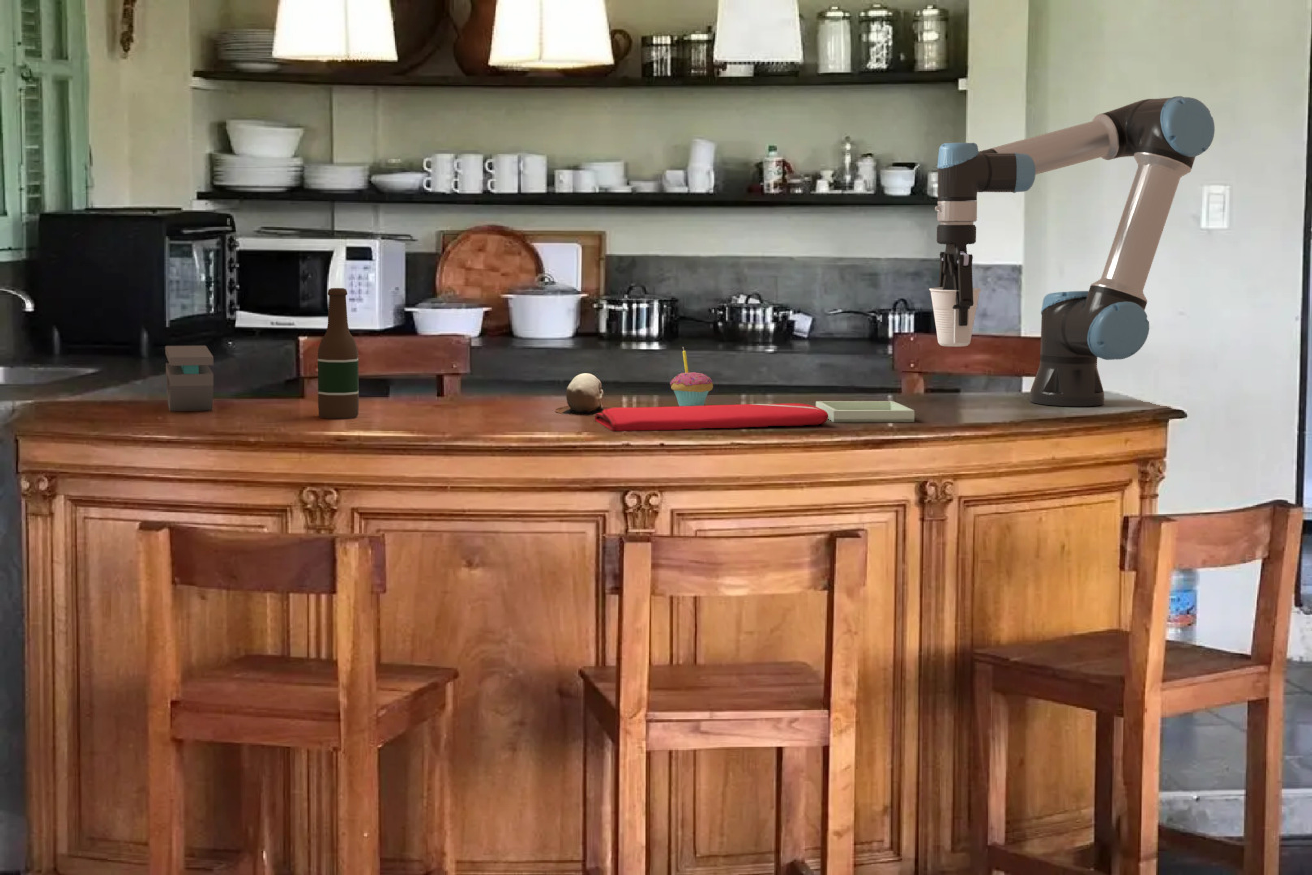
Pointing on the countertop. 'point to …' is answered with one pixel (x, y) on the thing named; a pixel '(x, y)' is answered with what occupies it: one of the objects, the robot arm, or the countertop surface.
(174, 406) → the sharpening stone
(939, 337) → the cup
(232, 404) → the countertop surface
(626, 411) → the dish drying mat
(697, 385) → the cupcake
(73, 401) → the countertop surface
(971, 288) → the robot arm
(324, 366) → the beer bottle
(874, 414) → the tray
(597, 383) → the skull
